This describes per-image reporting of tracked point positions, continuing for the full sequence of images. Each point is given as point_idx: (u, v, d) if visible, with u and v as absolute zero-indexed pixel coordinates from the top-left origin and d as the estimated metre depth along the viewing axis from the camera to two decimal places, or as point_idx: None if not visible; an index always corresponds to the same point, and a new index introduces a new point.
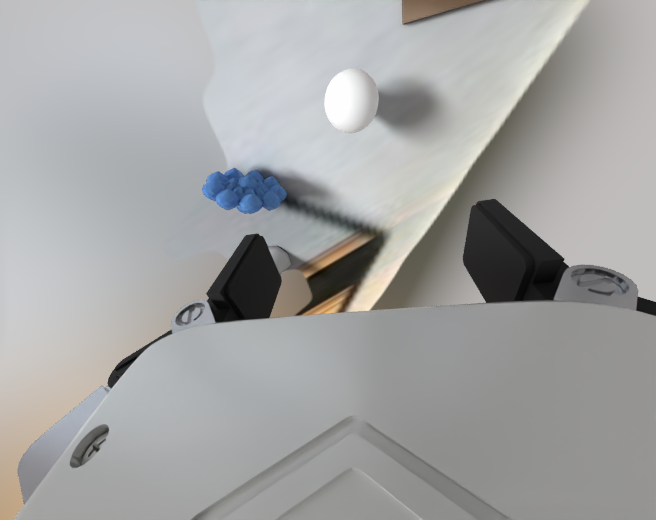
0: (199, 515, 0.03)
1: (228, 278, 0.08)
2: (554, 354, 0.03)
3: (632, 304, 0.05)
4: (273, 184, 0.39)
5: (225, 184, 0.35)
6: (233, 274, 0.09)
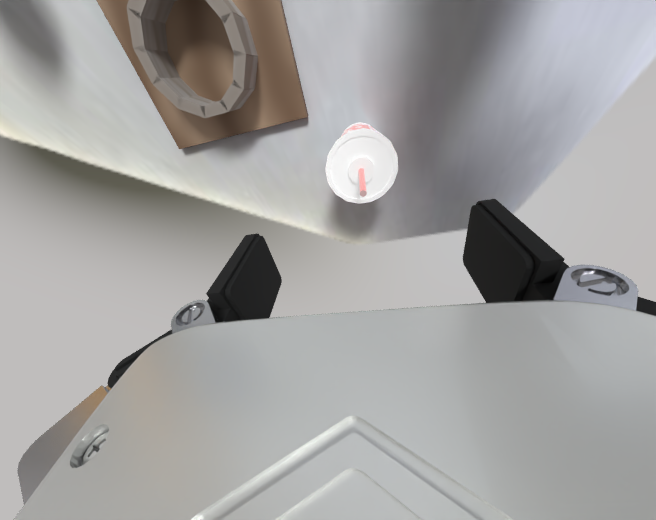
0: (199, 515, 0.03)
1: (228, 277, 0.08)
2: (554, 354, 0.03)
3: (632, 304, 0.05)
4: None
5: None
6: (233, 274, 0.09)
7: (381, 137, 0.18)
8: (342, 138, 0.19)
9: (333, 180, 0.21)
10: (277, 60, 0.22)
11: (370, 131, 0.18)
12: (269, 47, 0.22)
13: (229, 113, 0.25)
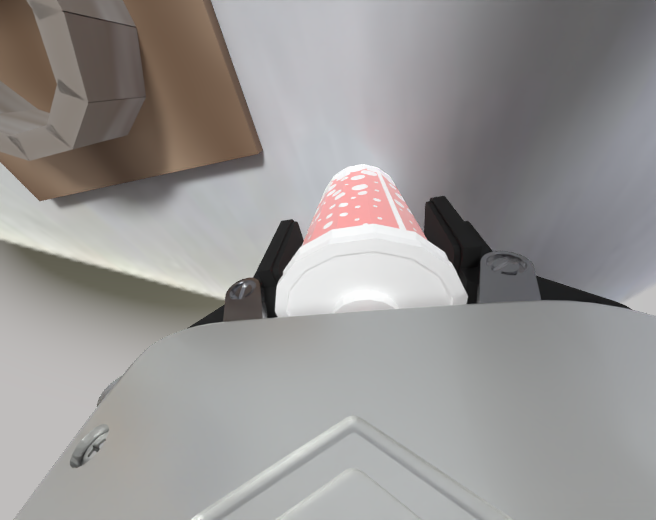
0: (199, 515, 0.03)
1: (275, 257, 0.09)
2: (554, 354, 0.03)
3: (533, 278, 0.06)
4: None
5: None
6: (278, 254, 0.09)
7: (428, 258, 0.06)
8: (313, 255, 0.06)
9: None
10: (181, 36, 0.10)
11: (396, 243, 0.06)
12: (156, 6, 0.10)
13: (108, 144, 0.13)
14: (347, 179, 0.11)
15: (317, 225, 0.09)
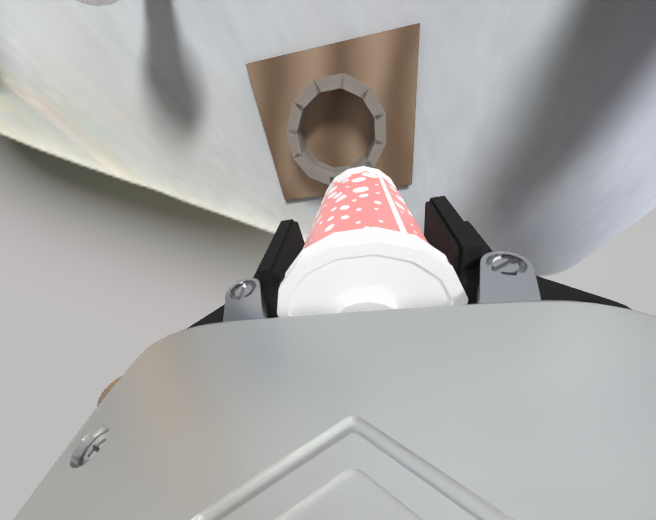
0: (199, 515, 0.03)
1: (275, 257, 0.09)
2: (554, 354, 0.03)
3: (533, 278, 0.06)
4: None
5: None
6: (278, 254, 0.09)
7: (429, 261, 0.06)
8: (315, 258, 0.06)
9: None
10: (399, 140, 0.26)
11: (397, 246, 0.06)
12: (395, 131, 0.25)
13: None
14: (348, 181, 0.12)
15: (318, 228, 0.09)
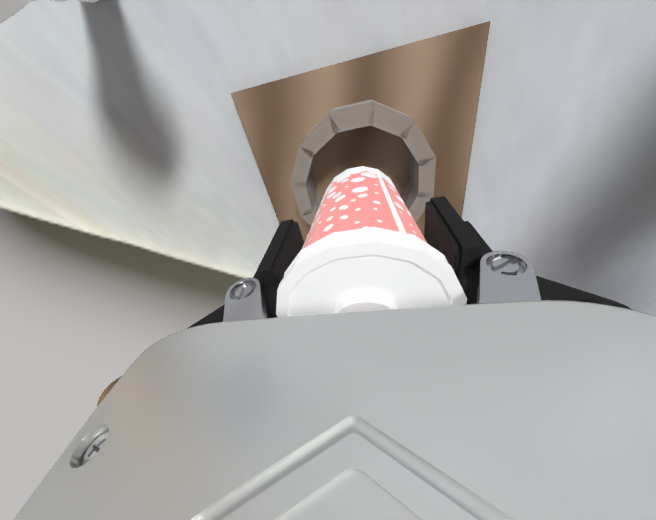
0: (199, 515, 0.03)
1: (275, 257, 0.09)
2: (554, 354, 0.03)
3: (533, 278, 0.06)
4: None
5: None
6: (278, 254, 0.09)
7: (428, 261, 0.06)
8: (313, 258, 0.06)
9: None
10: (446, 183, 0.19)
11: (396, 246, 0.06)
12: (440, 172, 0.18)
13: None
14: (347, 181, 0.12)
15: (318, 227, 0.09)
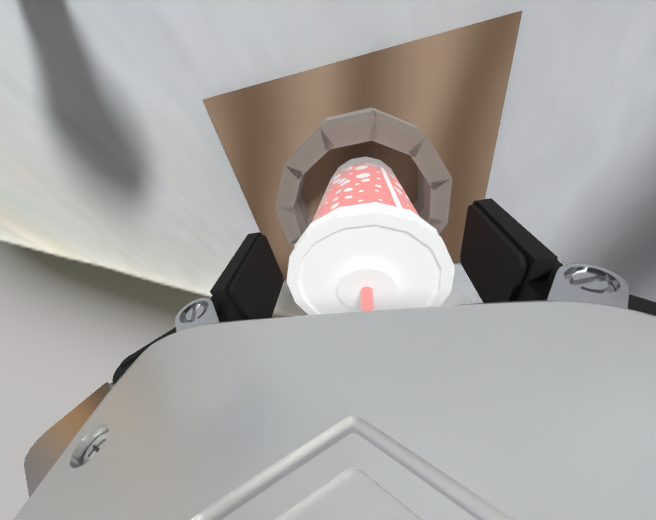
0: (199, 515, 0.03)
1: (232, 276, 0.08)
2: (554, 354, 0.03)
3: (624, 301, 0.05)
4: None
5: None
6: (236, 272, 0.09)
7: (421, 231, 0.07)
8: (322, 228, 0.07)
9: (305, 297, 0.10)
10: (460, 204, 0.16)
11: (394, 217, 0.07)
12: (453, 191, 0.15)
13: None
14: (351, 169, 0.12)
15: (324, 207, 0.10)
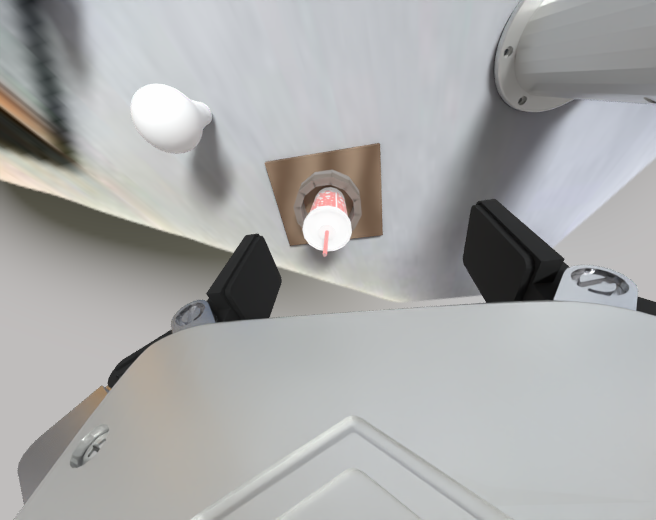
0: (199, 515, 0.03)
1: (228, 278, 0.08)
2: (554, 354, 0.03)
3: (632, 304, 0.05)
4: None
5: None
6: (233, 274, 0.09)
7: (340, 213, 0.27)
8: (314, 212, 0.28)
9: (307, 236, 0.30)
10: (372, 208, 0.36)
11: (332, 209, 0.27)
12: (368, 202, 0.36)
13: None
14: (324, 193, 0.33)
15: (314, 206, 0.30)
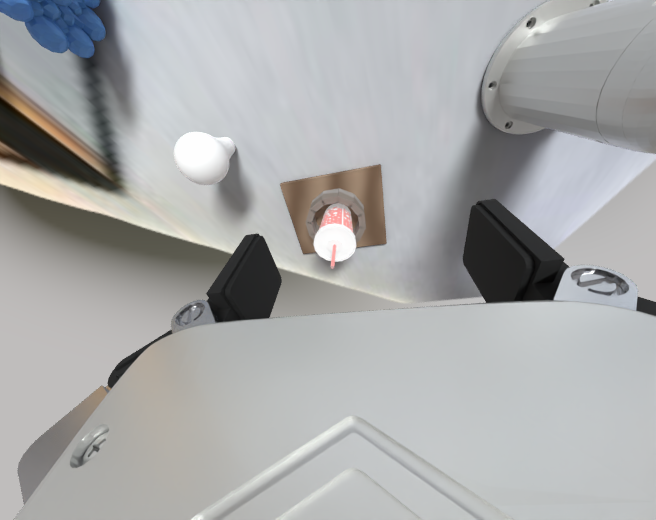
0: (199, 515, 0.03)
1: (228, 277, 0.08)
2: (554, 354, 0.03)
3: (632, 304, 0.05)
4: (91, 31, 0.27)
5: None
6: (233, 274, 0.09)
7: (345, 230, 0.32)
8: (323, 229, 0.32)
9: (318, 249, 0.34)
10: (375, 220, 0.40)
11: (339, 227, 0.32)
12: (372, 215, 0.40)
13: None
14: (332, 209, 0.37)
15: (323, 223, 0.34)
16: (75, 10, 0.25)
